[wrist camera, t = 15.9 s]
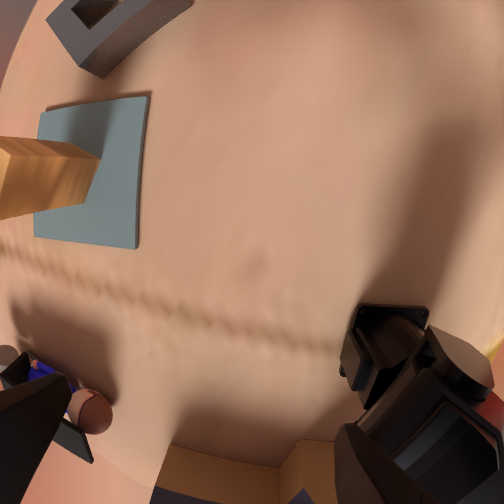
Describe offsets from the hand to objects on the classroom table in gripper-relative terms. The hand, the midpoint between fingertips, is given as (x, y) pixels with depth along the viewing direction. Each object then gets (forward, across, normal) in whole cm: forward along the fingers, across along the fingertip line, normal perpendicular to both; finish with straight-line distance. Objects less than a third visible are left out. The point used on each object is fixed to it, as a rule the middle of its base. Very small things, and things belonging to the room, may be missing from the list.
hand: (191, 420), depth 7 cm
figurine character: (+13, +19, +15) cm, 28 cm away
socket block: (+13, +12, -21) cm, 27 cm away
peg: (+12, +13, -7) cm, 19 cm away
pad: (+13, +13, -7) cm, 20 cm away
